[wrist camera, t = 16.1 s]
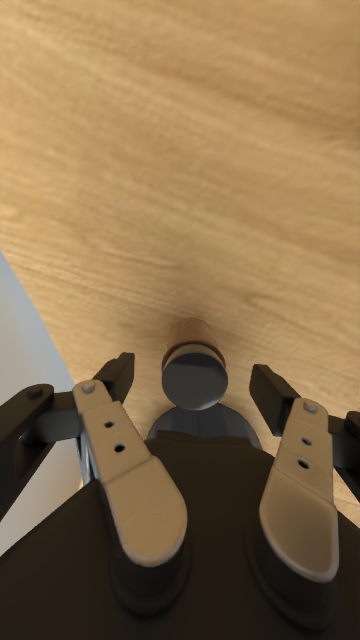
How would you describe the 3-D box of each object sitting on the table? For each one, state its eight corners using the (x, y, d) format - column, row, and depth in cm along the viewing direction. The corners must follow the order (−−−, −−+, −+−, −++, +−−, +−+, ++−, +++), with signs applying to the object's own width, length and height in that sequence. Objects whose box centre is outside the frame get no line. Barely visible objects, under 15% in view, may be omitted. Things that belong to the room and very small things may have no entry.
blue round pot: (149, 396, 20) (132, 454, 13) (267, 407, 20) (306, 471, 13) (144, 485, 23) (128, 567, 16) (246, 495, 22) (270, 581, 16)
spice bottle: (170, 315, 17) (160, 344, 10) (215, 319, 17) (237, 351, 10) (167, 356, 18) (156, 410, 11) (209, 360, 18) (226, 417, 11)
